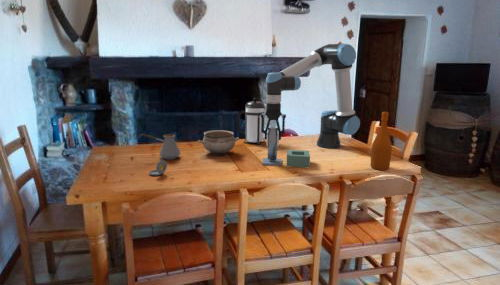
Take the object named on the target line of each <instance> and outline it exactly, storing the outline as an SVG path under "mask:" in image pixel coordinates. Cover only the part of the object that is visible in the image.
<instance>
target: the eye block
mask: <svg viewBox="0 0 500 285" xmlns="http://www.w3.org/2000/svg"><path fill="white" fill-rule="evenodd" d="M310 155H311V154H310V150H301V149H300V150H299V149H297V150H296V149H287V150H286V167H287V166H296V167H295V168H306V167H309V168H310V167H311V166H310V164H311V156H310Z"/></svg>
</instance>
